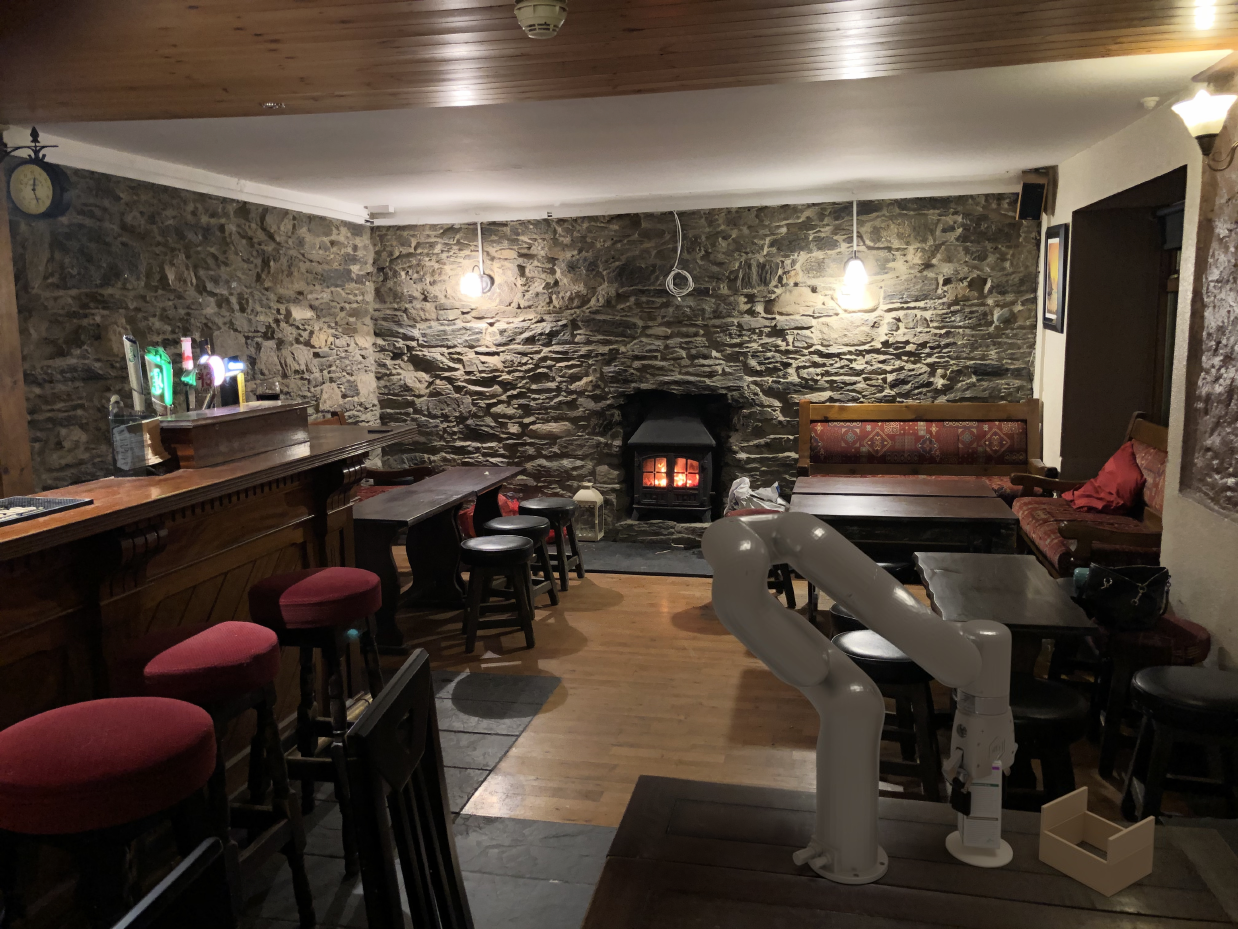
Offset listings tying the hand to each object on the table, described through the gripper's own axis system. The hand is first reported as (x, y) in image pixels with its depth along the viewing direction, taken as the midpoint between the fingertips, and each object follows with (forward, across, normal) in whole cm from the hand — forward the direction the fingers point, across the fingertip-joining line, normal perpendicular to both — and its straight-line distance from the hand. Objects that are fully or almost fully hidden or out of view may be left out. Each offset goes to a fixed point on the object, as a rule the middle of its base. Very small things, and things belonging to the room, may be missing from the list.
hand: (979, 803), depth 141 cm
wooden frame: (+8, +11, -13) cm, 19 cm away
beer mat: (+8, 0, 0) cm, 8 cm away
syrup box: (+6, 0, 0) cm, 6 cm away
